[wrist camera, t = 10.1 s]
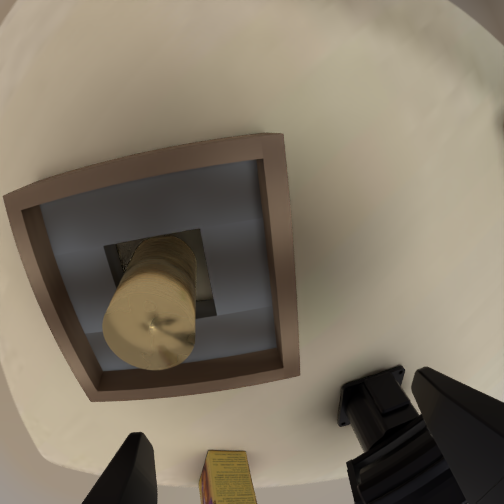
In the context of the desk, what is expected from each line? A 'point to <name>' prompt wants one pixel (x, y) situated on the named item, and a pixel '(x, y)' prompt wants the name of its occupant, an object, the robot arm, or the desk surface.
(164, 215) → the bore box
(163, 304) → the peg
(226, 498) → the candy box
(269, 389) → the desk surface
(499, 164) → the desk surface
